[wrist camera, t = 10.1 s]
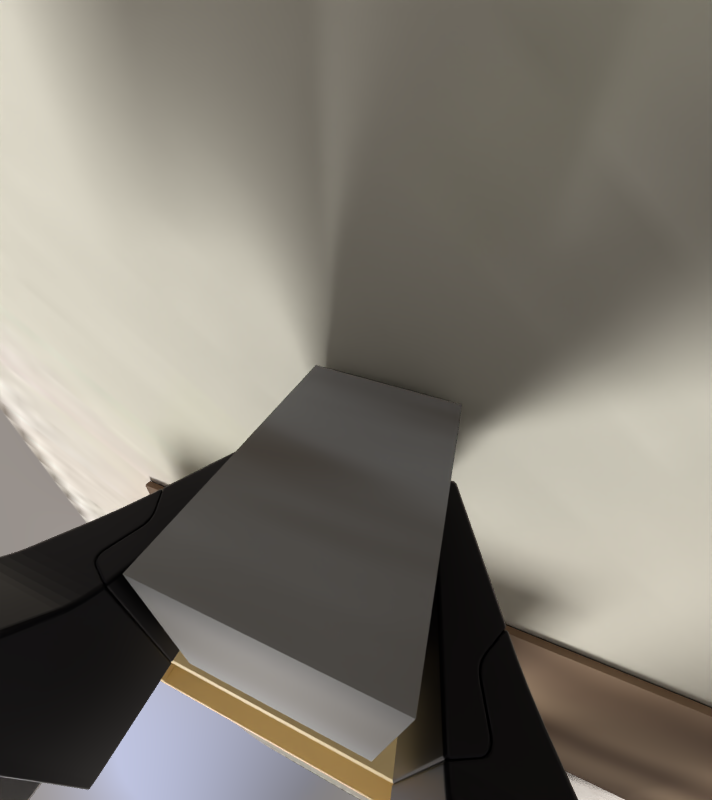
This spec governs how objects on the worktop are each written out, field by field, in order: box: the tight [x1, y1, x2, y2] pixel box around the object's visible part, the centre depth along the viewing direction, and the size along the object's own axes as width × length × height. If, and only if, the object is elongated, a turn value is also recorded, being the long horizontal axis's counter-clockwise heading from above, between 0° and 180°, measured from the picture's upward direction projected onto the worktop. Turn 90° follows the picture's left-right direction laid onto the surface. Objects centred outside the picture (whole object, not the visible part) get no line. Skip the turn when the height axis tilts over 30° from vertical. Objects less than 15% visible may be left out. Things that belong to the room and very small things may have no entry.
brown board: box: [146, 481, 712, 800], centre depth 18 cm, size 14×32×1 cm, turn 85°
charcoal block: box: [123, 365, 462, 762], centre depth 7 cm, size 4×4×6 cm
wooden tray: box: [160, 651, 397, 800], centre depth 17 cm, size 11×17×5 cm, turn 85°
